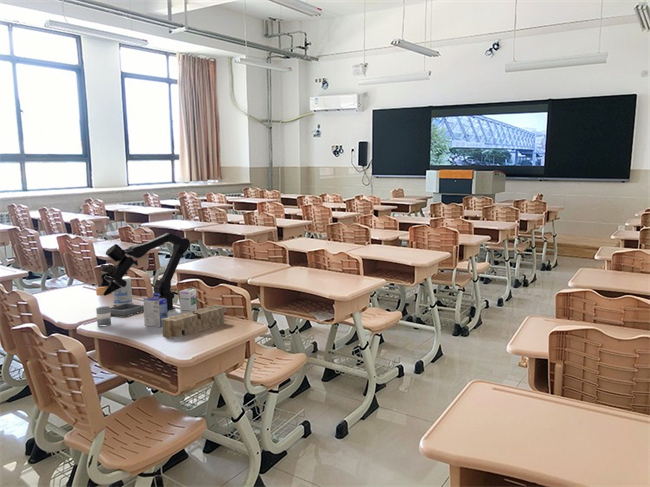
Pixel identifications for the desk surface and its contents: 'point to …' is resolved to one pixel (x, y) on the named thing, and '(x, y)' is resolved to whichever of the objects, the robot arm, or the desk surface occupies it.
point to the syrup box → (188, 300)
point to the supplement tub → (123, 293)
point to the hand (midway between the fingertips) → (101, 294)
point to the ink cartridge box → (155, 310)
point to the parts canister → (103, 315)
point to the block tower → (193, 321)
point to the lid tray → (126, 309)
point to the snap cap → (101, 290)
